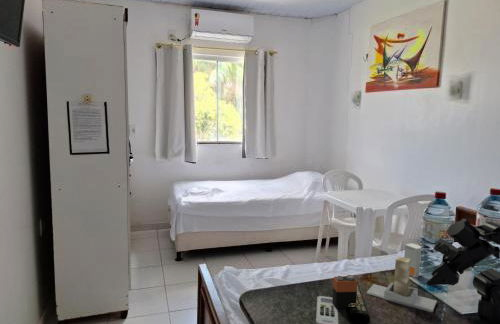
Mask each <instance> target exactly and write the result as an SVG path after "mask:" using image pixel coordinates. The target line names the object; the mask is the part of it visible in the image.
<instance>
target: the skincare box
mask: <svg viewBox="0 0 500 324" xmlns="http://www.w3.org/2000/svg"><path fill="white" fill-rule="evenodd" d="M421 247H422V246H421V245H418V244H415V243H406V244H404V252H403V253H404V256H403V257H404V258H409V259H411V262H410V276H411V277H413V278H414V277H417V278H419V277H418V274H419V267H420V261H421Z"/></svg>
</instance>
